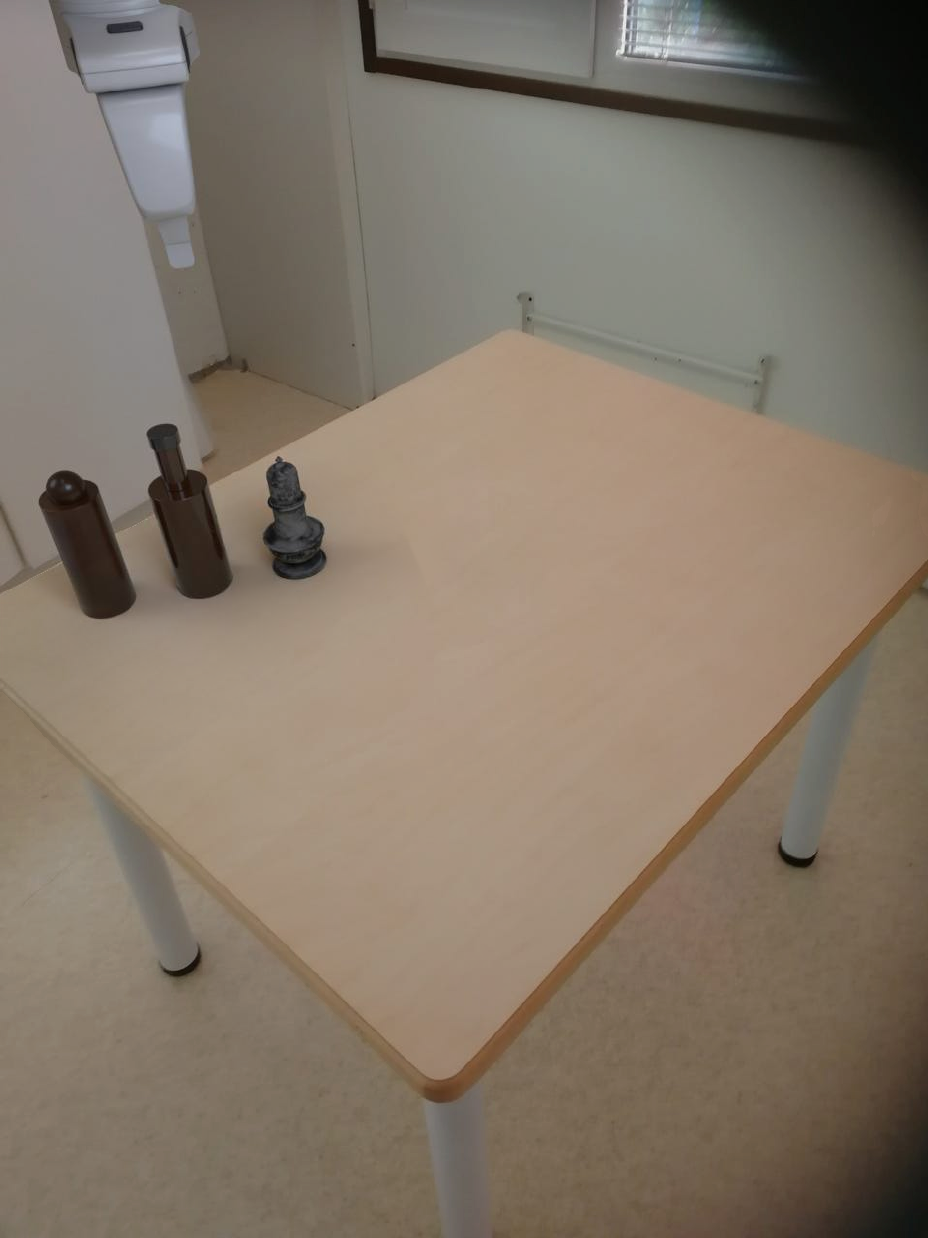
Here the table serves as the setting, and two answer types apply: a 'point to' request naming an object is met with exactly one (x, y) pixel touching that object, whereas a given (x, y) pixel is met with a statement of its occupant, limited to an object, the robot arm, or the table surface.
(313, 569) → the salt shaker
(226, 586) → the vinegar bottle
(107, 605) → the pepper mill
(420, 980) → the table surface
